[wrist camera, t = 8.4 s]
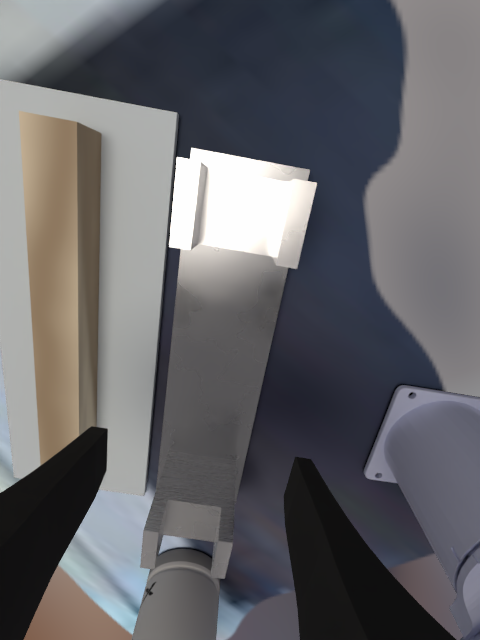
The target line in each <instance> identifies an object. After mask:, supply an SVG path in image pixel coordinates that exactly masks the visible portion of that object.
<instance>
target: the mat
mask: <svg viewBox="0 0 480 640" xmlns="http://www.w3.org/2000/svg"><path fill="white" fill-rule="evenodd" d="M19 111H23V112H28V113H33V114H39V115H44V116H49V117H54V118H60V119H65V120H70V121H76V122H79V123H81V124H83V125H85V126H87V127H89V128H91V129H93V130H96V131H98V132H100V133H101V193H100V252H99V311H98V370H97V427H100V428H107V429H108V441H107V471H106V473H105V475H104V478H103V480H102V483H101V485H100V488H99V490H105V491H112V492H119V493H126V494H133V495H140V496H144V495H145V492H146V486H147V475H148V463H149V452H150V440H151V429H152V418H153V406H154V395H155V384H156V372H157V361H158V349H159V338H160V327H161V315H162V304H163V293H164V281H165V270H166V258H167V247H168V236H169V224H170V213H171V202H172V190H173V179H174V168H175V156H176V145H177V133H178V122H179V115H178V113H175V112H170V111H165V110H159V109H154V108H149V107H144V106H138V105H133V104H128V103H123V102H117V101H112V100H107V99H101V98H96V97H91V96H86V95H80V94H75V93H70V92H65V91H59V90H54V89H49V88H43V87H38V86H33V85H28V84H22V83H17V82H12V81H7V80H1V79H0V346H1V356H2V366H3V375H4V385H5V394H6V404H7V414H8V423H9V433H10V443H11V452H12V462H13V471H14V478H21V479H22V478H24V477H25V476H27V475H28V474H30V473H31V472H32V471H34V470H35V469H37V468H38V467H39V466H41V464H40V448H39V431H38V415H37V399H36V383H35V366H34V350H33V334H32V318H31V301H30V285H29V269H28V253H27V236H26V220H25V204H24V187H23V171H22V155H21V139H20V122H19Z"/></svg>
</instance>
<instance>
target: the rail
mask: <svg viewBox="0 0 480 640" xmlns="http://www.w3.org/2000/svg"><path fill="white" fill-rule="evenodd" d="M19 122H20V139H21V155H22V171H23V187H24V204H25V220H26V236H27V253H28V269H29V285H30V301H31V318H32V334H33V350H34V366H35V383H36V399H37V415H38V431H39V448H40V464H41V465H42V464H43V463H45V462H46V461H47V460H49V459H50V458H51V457H53V456H54V455H55V454H57V453H58V452H59V451H61V450H62V449H63V448H64V447H66V446H67V445H68V444H70V443H71V442H72V441H73V440H75V439H76V438H77V437H78V436H80V435H81V434H82V433H83V432H85V431H86V430H87V429H88V428H90V427H91V426H93V427H97V370H98V311H99V252H100V193H101V133H100V132H98V131H96V130H93V129H91V128H89V127H87V126H85V125H83V124H81V123H79V122H76V121H70V120H65V119H60V118H54V117H49V116H44V115H39V114H33V113H28V112H23V111H19Z"/></svg>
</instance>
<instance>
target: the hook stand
mask: <svg viewBox="0 0 480 640" xmlns="http://www.w3.org/2000/svg"><path fill="white" fill-rule="evenodd" d="M309 173H310V170H308V169H302V168H297V167H292V166H286V165H281V164H275V163H270V162H265V161H259V160H254V159H249V158H243V157H238V156H232V155H227V154H222V153H216V152H211V151H206V150H200V149H195V148H191V155H190V159H185V158H180V157H177V164H176V175H175V186H174V197H173V208H172V219H171V231H170V242H169V247H173V248H179V249H181V253H180V263H179V272H178V282H177V292H176V301H175V311H174V321H173V331H172V340H171V350H170V360H169V370H168V379H167V389H166V399H165V409H164V418H163V428H162V438H161V448H160V457H159V467H158V477H157V487H156V493H155V496H154V499H153V502H152V506H151V509H150V512H149V515H148V518H147V521H146V525H145V528H144V532H143V543H142V554H141V565H140V568H147V569H155V565H156V561H157V557H158V554H159V550H160V546H161V542H162V538H163V535H169V536H176V537H183V538H190V539H197V540H205V541H212V542H214V548H213V558H212V568H211V577H214V578H222V579H225V575H226V571H227V566H228V562H229V558H230V553H231V549H232V545H233V530H234V507H235V503H236V499H237V495H238V490H239V486H240V481H241V477H242V472H243V468H244V463H245V459H246V454H247V450H248V445H249V441H250V436H251V432H252V428H253V423H254V419H255V414H256V410H257V405H258V401H259V396H260V392H261V387H262V383H263V378H264V374H265V369H266V365H267V360H268V356H269V351H270V347H271V343H272V338H273V334H274V329H275V325H276V320H277V316H278V311H279V307H280V302H281V298H282V293H283V289H284V284H285V280H286V275H287V271H288V268H294V269H297V267H298V262H299V258H300V254H301V249H302V245H303V241H304V237H305V232H306V228H307V224H308V219H309V215H310V211H311V207H312V202H313V198H314V194H315V190H316V185H317V183H315V182H310V181H308V177H309Z"/></svg>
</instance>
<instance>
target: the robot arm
mask: <svg viewBox="0 0 480 640" xmlns="http://www.w3.org/2000/svg"><path fill="white" fill-rule="evenodd" d="M411 392H413V394H412V395H410V396H408V395H409V394H410V393H411ZM107 441H108V429H107V428H100V427H93V426H91V427H90V428H88V429H87V430H86V431H85V432H83V433H82V434H81V435H80V436H78V437H77V438H76V439H75V440H73V441H72V442H71V443H70V444H68V445H67V446H66V447H64V448H63V449H62V450H61V451H59V452H58V453H57V454H55V455H54V456H53V457H51V458H50V459H49V460H47V461H46V462H45V463H43V464H42V465H41V466H39V467H38V468H37V469H35V470H34V471H32V472H31V473H30V474H28V475H27V476H25V477H24V478H22V479H21V480H19V481H18V482H17V483H15V484H14V485H12V486H11V487H9V488H8V489H6V490H5V491H3V492H1V493H0V640H23V639H24V637H25V635H26V633H27V630H28V628H29V625H30V623H31V621H32V619H33V617H34V614H35V612H36V610H37V608H38V606H39V603H40V601H41V599H42V597H43V594H44V592H45V590H46V588H47V586H48V583H49V582H50V579H51V577H52V575H53V573H54V571H55V570H56V568H57V566H58V564H59V562H60V560H61V558H62V556H63V555H64V553H65V551H66V549H67V548H68V546H69V544H70V542H71V540H72V539H73V537H74V535H75V533H76V531H77V530H78V528H79V526H80V524H81V522H82V521H83V519H84V517H85V515H86V513H87V512H88V510H89V508H90V506H91V504H92V503H93V501H94V499H95V497H96V494H97V492H98V490H99V488H100V485H101V483H102V480H103V478H104V475H105V473H106V471H107ZM377 473H378V474H377ZM364 474H365V476H366V478H368V479H372V480H379V481H385V482H392V483H398V485H399V487H400V488H401V490H402V492H403V494H404V496H405V498H406V500H407V502H408V503H409V505H410V507H411V509H412V511H413V513H414V515H415V517H416V518H417V520H418V522H419V524H420V526H421V528H422V530H423V532H424V533H425V535H426V537H427V539H428V541H429V543H430V545H431V547H432V548H433V550H434V552H435V554H436V556H437V558H438V560H439V561H440V563H441V565H442V567H443V569H444V571H445V573H446V575H447V576H448V578H449V580H450V582H451V584H452V586H453V588H454V590H455V591H456V593H457V597H456V599H455V601H454V603H453V604H452V605H451V606H450V610H451V612H452V614H453V617H454V618H455V620H456V623H457V625H458V627H459V629H460V631H461V633H462V634H463V637H462V638H461V639H460V640H480V397H475V396H469V395H463V394H457V393H451V392H445V391H438V390H432V389H426V388H420V387H414V386H407V385H401V386H399V387H398V388H397V389H396V390H395V393H394V395H393V398H392V400H391V403H390V405H389V408H388V410H387V413H386V415H385V418H384V420H383V423H382V425H381V428H380V430H379V433H378V436H377V438H376V441H375V443H374V446H373V448H372V451H371V453H370V456H369V458H368V461H367V463H366V466H365V468H364ZM284 513H285V527H286V534H287V541H288V547H289V554H290V560H291V566H292V573H293V579H294V586H295V592H296V600H297V607H298V619H299V633H300V640H456V639H455V638H454V637H453V636H452V635H451V634H450V633H448V632H447V631H446V630H445V629H444V628H443V627H442V626H441V625H440V624H439V623H438V622H437V621H436V620H435V619H434V618H433V617H432V616H431V615H430V614H429V613H428V612H427V611H426V610H425V609H424V608H423V607H422V606H421V605H420V604H419V603H418V602H417V601H416V600H415V599H414V598H413V597H412V596H411V595H410V594H409V593H408V592H407V590H406V589H405V588H404V587H403V586H402V585H401V584H400V583H399V582H398V581H397V580H396V579H395V578H394V577H393V575H392V574H391V573H390V572H389V571H388V570H387V568H386V567H385V566H384V565H383V564H382V562H381V561H380V560H379V559H378V558H377V556H376V555H375V554H374V553H373V552H372V550H371V549H370V548H369V547H368V545H367V544H366V543H365V541H364V540H363V539H362V537H361V536H360V535H359V533H358V532H357V530H356V529H355V528H354V526H353V525H352V524H351V522H350V521H349V519H348V518H347V516H346V515H345V513H344V512H343V510H342V509H341V507H340V506H339V504H338V503H337V501H336V500H335V498H334V496H333V495H332V493H331V492H330V490H329V488H328V487H327V485H326V483H325V482H324V480H323V478H322V477H321V475H320V473H319V472H318V470H317V468H316V467H315V465H314V463H313V462H312V460H311V459H306V458H299V457H295V460H294V463H293V467H292V470H291V473H290V477H289V480H288V484H287V487H286V490H285V494H284Z"/></svg>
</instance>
